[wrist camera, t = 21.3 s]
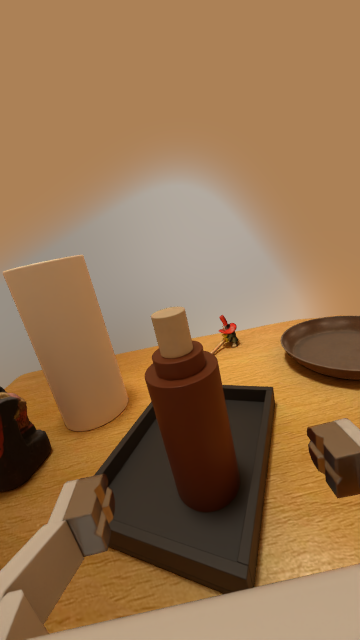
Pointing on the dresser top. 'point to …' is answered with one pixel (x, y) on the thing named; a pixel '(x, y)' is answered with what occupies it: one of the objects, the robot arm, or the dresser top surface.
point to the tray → (180, 520)
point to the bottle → (192, 415)
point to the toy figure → (227, 334)
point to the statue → (18, 442)
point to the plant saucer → (326, 345)
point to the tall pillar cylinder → (70, 339)
